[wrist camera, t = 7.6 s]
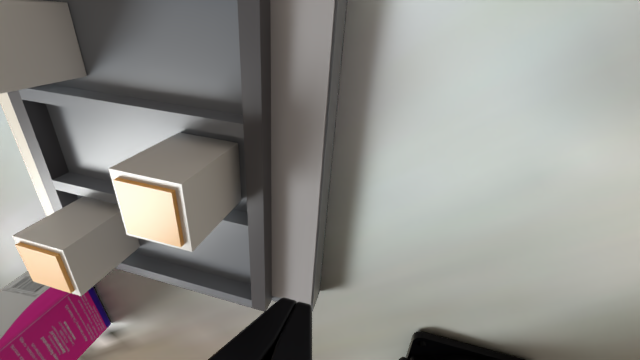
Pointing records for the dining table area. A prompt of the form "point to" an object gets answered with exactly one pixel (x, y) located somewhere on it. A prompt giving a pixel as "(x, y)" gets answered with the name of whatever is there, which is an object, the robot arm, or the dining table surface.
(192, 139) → the switch tab
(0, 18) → the switch tab
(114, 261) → the switch tab
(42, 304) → the supplement box
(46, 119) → the switch bank
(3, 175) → the dining table surface
